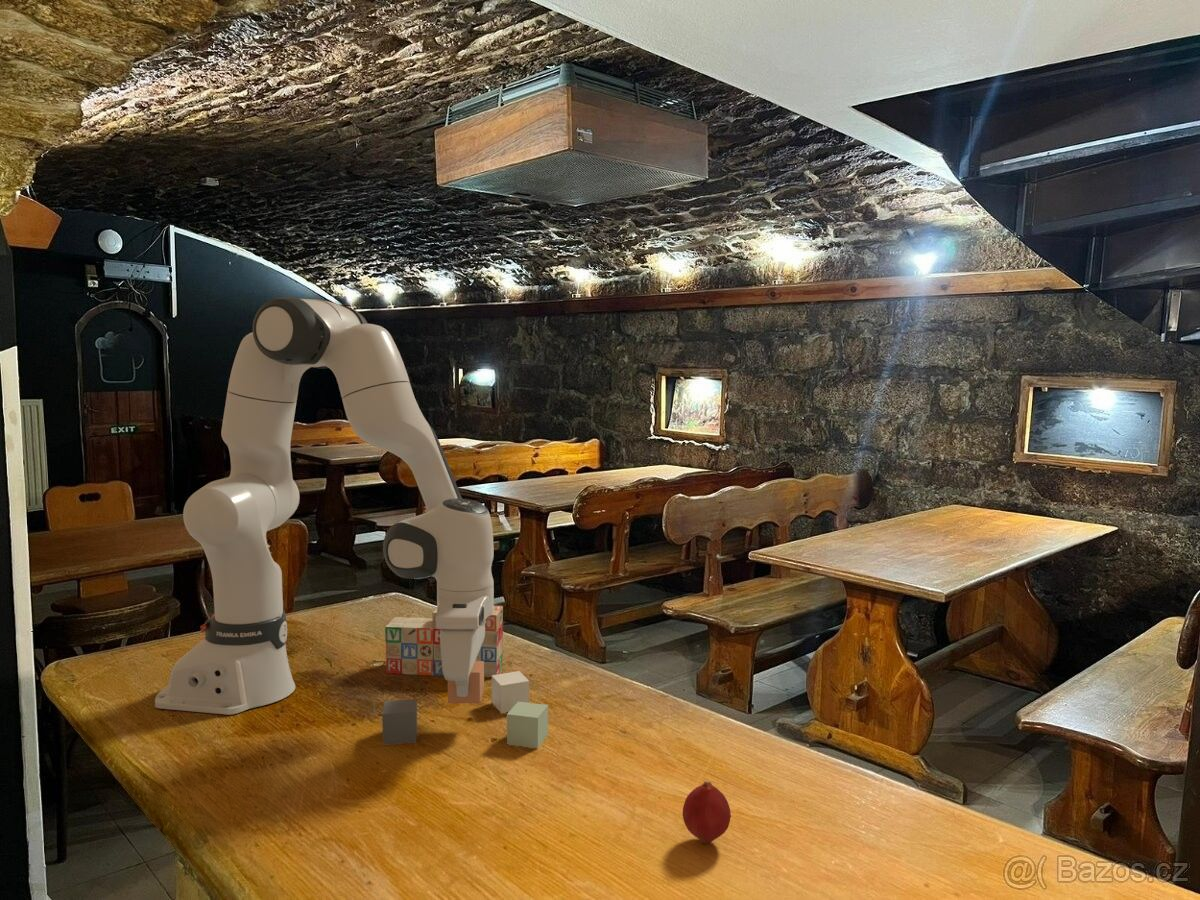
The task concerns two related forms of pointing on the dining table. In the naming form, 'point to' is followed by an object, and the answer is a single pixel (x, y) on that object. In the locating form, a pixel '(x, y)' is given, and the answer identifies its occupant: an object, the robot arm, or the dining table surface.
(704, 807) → the onion
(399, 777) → the dining table surface
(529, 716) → the sage green cube
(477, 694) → the terracotta cube
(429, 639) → the stack of blocks
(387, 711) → the charcoal cube
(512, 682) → the off-white cube
